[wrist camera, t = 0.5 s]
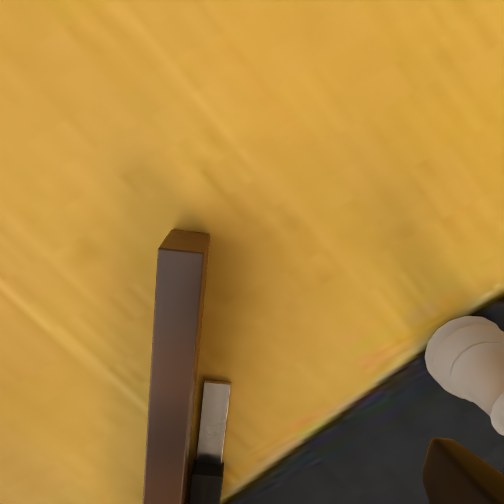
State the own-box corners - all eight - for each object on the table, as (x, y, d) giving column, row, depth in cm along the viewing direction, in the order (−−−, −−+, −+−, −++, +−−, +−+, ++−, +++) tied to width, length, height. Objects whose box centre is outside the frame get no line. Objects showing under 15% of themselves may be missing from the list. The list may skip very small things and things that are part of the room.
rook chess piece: (503, 307, 23) (631, 396, 16) (498, 379, 25) (614, 493, 17) (421, 316, 23) (508, 409, 16) (420, 387, 25) (501, 505, 17)
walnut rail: (181, 535, 27) (173, 592, 24) (150, 533, 27) (137, 590, 24) (210, 233, 22) (204, 252, 18) (171, 229, 22) (157, 248, 18)
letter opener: (215, 532, 27) (214, 549, 26) (187, 529, 27) (184, 547, 26) (233, 382, 24) (233, 395, 23) (202, 379, 24) (199, 392, 23)
